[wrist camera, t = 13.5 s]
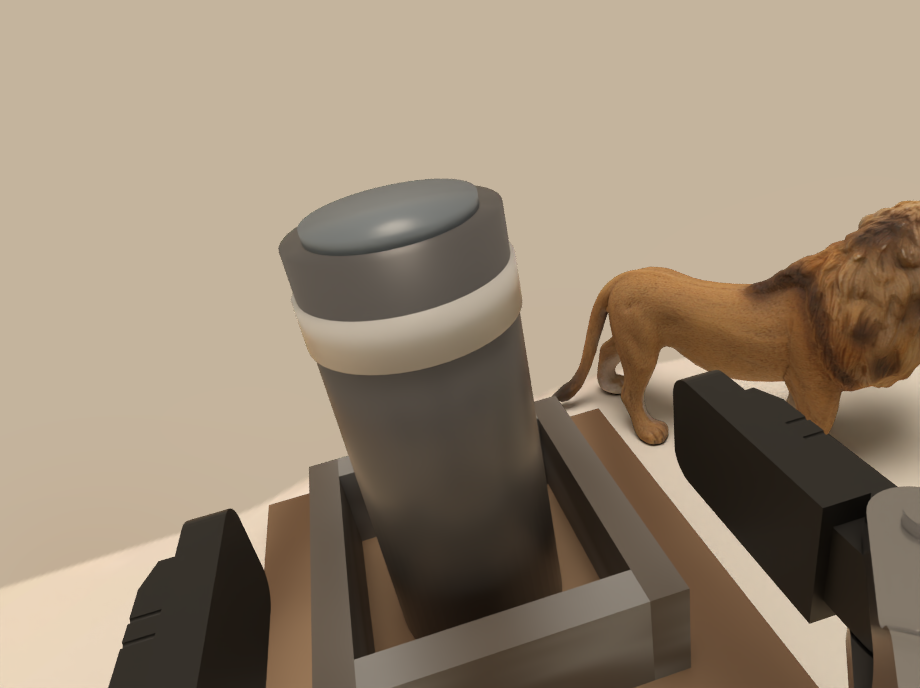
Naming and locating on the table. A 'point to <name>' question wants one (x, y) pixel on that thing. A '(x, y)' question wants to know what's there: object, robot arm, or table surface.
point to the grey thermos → (431, 392)
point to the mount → (533, 624)
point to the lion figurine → (771, 323)
